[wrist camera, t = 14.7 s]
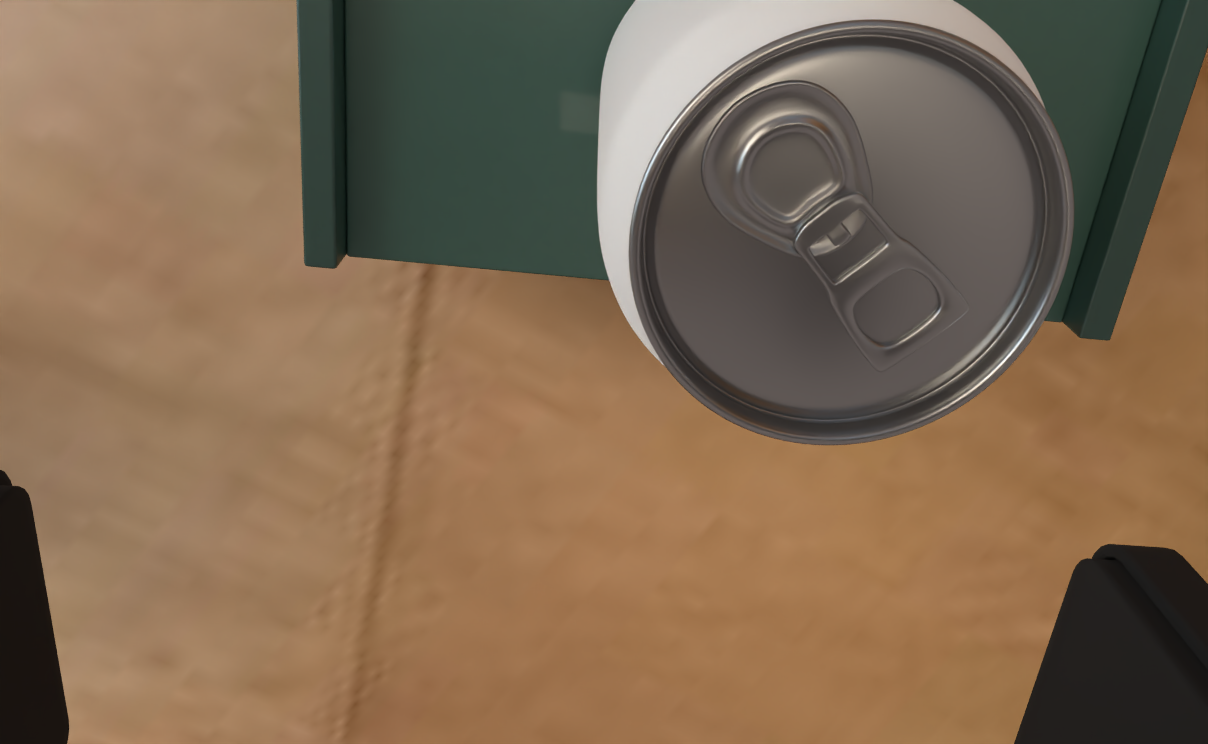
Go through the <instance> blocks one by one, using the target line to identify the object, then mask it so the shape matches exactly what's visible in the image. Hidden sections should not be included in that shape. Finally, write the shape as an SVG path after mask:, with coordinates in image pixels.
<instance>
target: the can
mask: <svg viewBox="0 0 1208 744" xmlns="http://www.w3.org/2000/svg"><path fill="white" fill-rule="evenodd" d="M597 214H598V228H599V238H600V245H601V251H602V256H603V260H604V264H605V268H606V271H607V275H608V278H609V281H610V284H611V287H612V289H613V292H614V294H615V297H616V299H617V301H618V304H619V306H620V308H621V310H622V312H623V314H624V315H625V317H626V319H627V321H628V322H629V324H630V326H631V327H632V329H633V330H634V332H635V333H636V334H637V336H638V337H639V339H640V340H641V341H642V342H643V344H644V345H645V346H646V347H647V349H648V350H649V351H650V352H651V353H652V354H653V355H654V356H655V357H656V358H657V359H658V360H659V361H660V362H661V363H662V364H663V365H664V366H665V367H666V368H667V369H668V371H669V372H670V373H671V374H672V376H673V377H674V378H675V379H676V380H677V381H678V382H679V383H680V384H681V385H682V386H683V387H684V388H685V389H686V390H687V391H688V392H689V393H690V394H691V395H692V396H693V397H694V398H696V399H697V400H698V401H699V402H701V403H702V404H703V405H704V406H706V407H707V408H709V409H710V410H712V411H713V412H715V413H716V414H718V415H719V416H721V417H723V418H725V419H726V420H728V421H730V422H732V423H734V424H736V425H738V426H740V427H743V428H745V429H747V430H750V431H752V432H755V433H758V434H761V435H764V436H767V437H771V438H775V439H779V440H784V441H789V442H794V443H802V444H812V445H847V444H857V443H865V442H871V441H876V440H881V439H885V438H889V437H893V436H896V435H900V434H903V433H906V432H909V431H912V430H914V429H917V428H920V427H922V426H924V425H927V424H929V423H931V422H933V421H935V420H937V419H940V418H942V417H943V416H945V415H947V414H949V413H951V412H952V411H954V410H956V409H957V408H959V407H961V406H962V405H964V404H965V403H967V402H968V401H970V400H971V399H973V398H974V397H975V396H977V395H978V394H979V393H981V392H982V391H983V390H985V389H986V388H987V387H988V386H989V385H991V384H992V383H993V382H994V381H995V380H996V379H997V378H998V377H999V376H1001V375H1002V374H1003V373H1004V372H1005V371H1006V370H1007V369H1008V368H1009V367H1010V365H1011V364H1012V363H1013V362H1014V361H1015V360H1016V359H1017V358H1018V357H1019V355H1020V354H1021V353H1022V352H1023V351H1024V349H1025V348H1026V347H1027V345H1028V344H1029V343H1030V341H1031V340H1032V338H1033V337H1034V336H1035V334H1036V333H1037V331H1038V329H1039V328H1040V326H1041V325H1042V323H1043V321H1044V320H1045V318H1046V316H1047V314H1048V312H1049V310H1050V308H1051V306H1052V304H1053V302H1054V300H1055V298H1056V296H1057V293H1058V291H1059V288H1060V285H1061V283H1062V280H1063V277H1064V274H1065V270H1066V267H1067V263H1068V259H1069V255H1070V250H1071V244H1072V237H1073V228H1074V194H1073V185H1072V179H1071V173H1070V169H1069V164H1068V160H1067V157H1066V153H1065V150H1064V148H1063V145H1062V142H1061V140H1060V137H1059V135H1058V132H1057V130H1056V128H1055V126H1054V124H1053V122H1052V120H1051V119H1050V117H1049V115H1048V113H1047V112H1046V110H1045V107H1044V104H1043V101H1042V99H1041V97H1040V94H1039V92H1038V90H1037V88H1036V86H1035V84H1034V82H1033V80H1032V78H1031V77H1030V75H1029V73H1028V72H1027V70H1026V68H1025V67H1024V65H1023V64H1022V62H1021V61H1020V60H1019V58H1018V57H1017V55H1016V54H1015V53H1014V52H1013V50H1012V49H1011V48H1010V47H1009V46H1008V45H1007V43H1006V42H1005V41H1004V40H1003V39H1002V38H1001V37H1000V36H999V35H998V34H997V33H996V32H995V31H994V30H993V29H992V28H990V27H989V26H988V25H987V24H986V23H985V22H983V21H982V20H981V19H979V18H978V17H977V16H976V15H974V14H973V13H972V12H970V11H969V10H967V9H966V8H964V7H963V6H962V5H960V4H958V3H957V2H955V1H953V0H635V2H634V3H633V4H632V6H631V7H630V8H629V10H628V11H627V13H626V14H625V16H624V17H623V19H622V21H621V22H620V24H619V26H618V28H617V30H616V32H615V34H614V36H613V38H612V41H611V43H610V46H609V49H608V52H607V55H606V59H605V63H604V69H603V74H602V81H601V92H600V108H599V132H598V165H597Z"/></svg>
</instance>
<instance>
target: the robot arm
mask: <svg viewBox="0 0 1208 744" xmlns="http://www.w3.org/2000/svg"><path fill="white" fill-rule="evenodd" d="M68 734H69V719H68V713H67V707H66V701H65V696H64V690H63V684H62V678H61V673H60V667H59V661H58V655H57V649H56V644H55V638H54V632H53V626H52V620H51V615H50V609H49V603H48V597H47V591H46V586H45V580H44V574H43V568H42V563H41V557H40V551H39V545H38V539H37V534H36V528H35V522H34V516H33V510H32V505H31V501H30V497H29V495H28V493H27V492H26V490H25V489H23V488H22V487H20V486H12V484H11V480H10V479H9V477H8V476H7V474H6V473H5V472H4V471H2V470H0V744H67V741H68ZM1014 744H1208V584H1207V583H1206V582H1205V581H1204V579H1203V578H1202V577H1201V576H1200V575H1199V574H1198V573H1197V572H1196V571H1195V570H1194V568H1193V567H1192V566H1191V565H1190V564H1189V563H1188V562H1187V561H1186V560H1185V559H1184V557H1183V556H1181V555H1180V554H1179V553H1177V552H1176V551H1175V550H1172V549H1168V548H1159V547H1145V546H1130V545H1116V544H1107V545H1104V546H1102V547H1100V548H1099V549H1098V550H1097V551H1096V552H1095V553H1094V555H1093V557H1092V559H1088V558H1087V559H1084V560H1081V561H1080V562H1079V563H1078V564H1077V565H1076V567H1075V569H1074V571H1073V574H1072V576H1071V579H1070V582H1069V585H1068V588H1067V591H1066V594H1065V597H1064V600H1063V603H1062V606H1061V609H1060V611H1059V614H1058V617H1057V620H1056V623H1055V626H1054V629H1053V632H1052V635H1051V638H1050V641H1049V644H1048V646H1047V649H1046V652H1045V655H1044V658H1043V661H1042V664H1041V667H1040V670H1039V673H1038V676H1037V679H1036V681H1035V684H1034V687H1033V690H1032V693H1031V696H1030V699H1029V702H1028V705H1027V708H1026V711H1025V714H1024V716H1023V719H1022V722H1021V725H1020V728H1019V731H1018V734H1017V737H1016V740H1015V743H1014Z"/></svg>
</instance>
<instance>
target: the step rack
mask: <svg viewBox="0 0 1208 744" xmlns="http://www.w3.org/2000/svg"><path fill="white" fill-rule="evenodd" d="M953 1H955V2H957V3H958V4H960V5H962V6H963V7H964V8H966V9H967V10H969V11H970V12H972V13H973V14H974V15H976V16H977V17H978V18H979V19H981V20H982V21H983V22H985V23H986V24H987V25H988V26H989V27H990V28H992V29H993V30H994V31H995V32H996V33H997V34H998V35H999V36H1000V37H1001V38H1002V39H1003V40H1004V41H1005V42H1006V43H1007V45H1008V46H1009V47H1010V48H1011V49H1012V50H1013V52H1014V53H1015V54H1016V55H1017V57H1018V58H1019V60H1020V61H1021V62H1022V64H1023V65H1024V67H1025V68H1026V70H1027V72H1028V73H1029V75H1030V77H1031V78H1032V80H1033V82H1034V84H1035V86H1036V88H1037V90H1038V92H1039V94H1040V97H1041V99H1042V101H1043V104H1044V107H1045V110H1046V112H1047V113H1048V115H1049V117H1050V119H1051V120H1052V122H1053V124H1054V126H1055V128H1056V130H1057V132H1058V135H1059V137H1060V140H1061V142H1062V145H1063V148H1064V150H1065V153H1066V157H1067V160H1068V164H1069V169H1070V173H1071V179H1072V185H1073V194H1074V228H1073V237H1072V244H1071V250H1070V255H1069V259H1068V263H1067V267H1066V270H1065V274H1064V277H1063V280H1062V283H1061V285H1060V288H1059V291H1058V293H1057V296H1056V298H1055V300H1054V302H1053V304H1052V306H1051V308H1050V310H1049V312H1048V314H1047V316H1046V318H1045V320H1044V321H1052V322H1063V323H1064V324H1065V325H1066V326H1067V327H1069V328H1070V329H1071V330H1072V331H1073V332H1074V333H1075V334H1076V335H1077V336H1078V337H1080V338H1086V339H1097V340H1110V338H1111V335H1112V332H1113V329H1114V326H1115V323H1116V320H1117V317H1118V314H1119V311H1120V308H1121V305H1122V302H1123V299H1124V296H1125V293H1126V290H1127V287H1128V284H1129V281H1130V278H1131V275H1132V272H1133V269H1134V266H1135V263H1136V260H1137V257H1138V254H1139V251H1140V248H1141V245H1142V242H1143V239H1144V236H1145V233H1146V230H1147V227H1148V224H1149V221H1150V219H1151V216H1152V213H1153V210H1154V207H1155V204H1156V201H1157V198H1158V195H1159V192H1160V189H1161V186H1162V183H1163V180H1164V177H1165V174H1166V171H1167V168H1168V165H1169V162H1170V159H1171V156H1172V153H1173V150H1174V147H1175V144H1176V141H1177V138H1178V135H1179V132H1180V129H1181V126H1182V123H1183V120H1184V117H1185V114H1186V111H1187V108H1188V105H1189V102H1190V99H1191V96H1192V93H1193V90H1194V87H1195V84H1196V81H1197V78H1198V75H1199V72H1200V69H1201V66H1202V63H1203V60H1204V57H1205V54H1206V51H1207V48H1208V0H953ZM634 2H635V0H297V33H298V66H299V100H300V134H301V167H302V201H303V235H304V263H305V265H306V266H310V267H321V268H332V269H334V268H337V266H338V265H339V264H340V262H341V261H342V260H343V258H344V257H345V255H346V254H347V255H348V256H350V257H361V258H372V259H383V260H393V261H404V262H415V263H426V264H437V265H447V266H458V267H469V268H480V269H491V270H501V271H512V272H523V273H534V274H545V275H555V276H566V277H577V278H588V279H599V280H609V278H608V275H607V271H606V268H605V264H604V260H603V256H602V251H601V245H600V238H599V228H598V214H597V165H598V132H599V108H600V92H601V81H602V74H603V69H604V63H605V59H606V55H607V52H608V49H609V46H610V43H611V41H612V38H613V36H614V34H615V32H616V30H617V28H618V26H619V24H620V22H621V21H622V19H623V17H624V16H625V14H626V13H627V11H628V10H629V8H630V7H631V6H632V4H633V3H634Z"/></svg>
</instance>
